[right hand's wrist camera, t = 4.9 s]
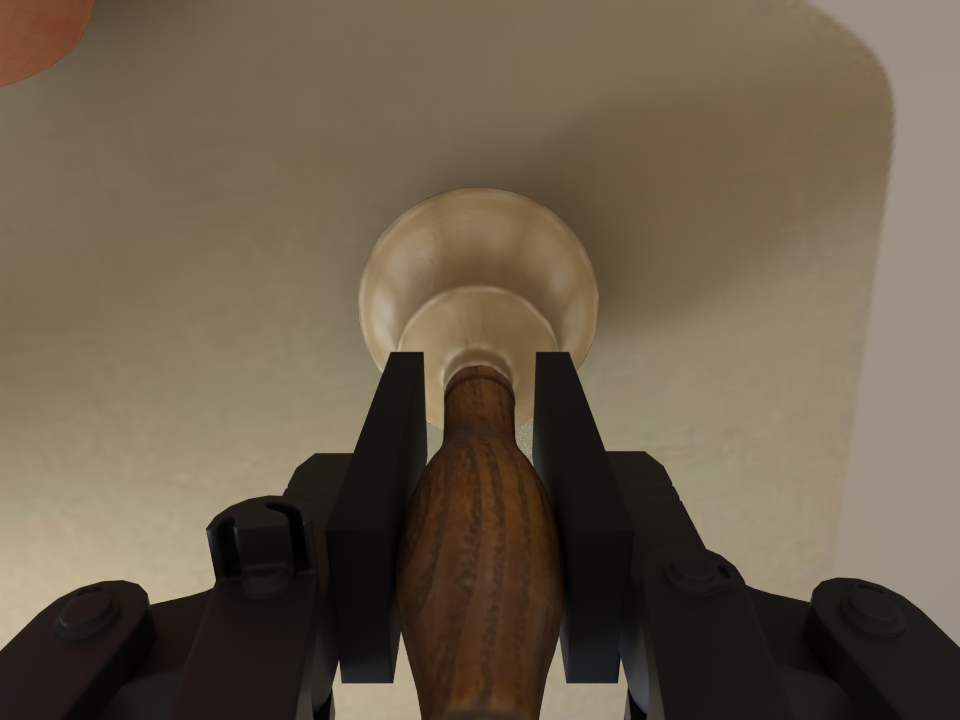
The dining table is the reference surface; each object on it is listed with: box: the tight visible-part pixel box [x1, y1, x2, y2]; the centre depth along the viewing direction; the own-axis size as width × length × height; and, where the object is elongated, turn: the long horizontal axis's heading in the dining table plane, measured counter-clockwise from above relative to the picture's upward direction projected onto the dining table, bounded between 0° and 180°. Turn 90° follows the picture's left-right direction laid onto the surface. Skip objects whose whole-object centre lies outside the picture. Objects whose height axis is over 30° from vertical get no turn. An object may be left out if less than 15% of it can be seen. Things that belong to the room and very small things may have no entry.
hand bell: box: [358, 187, 599, 720], centre depth 14 cm, size 8×8×16 cm
